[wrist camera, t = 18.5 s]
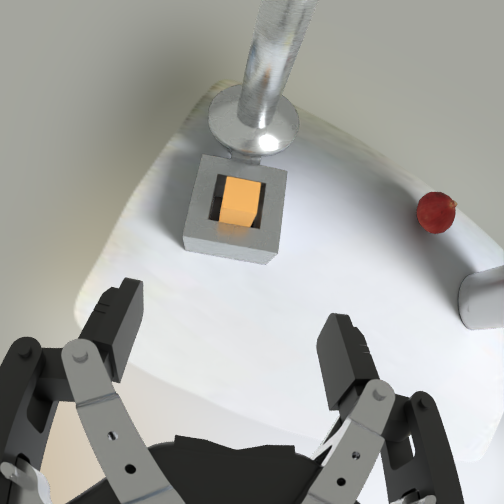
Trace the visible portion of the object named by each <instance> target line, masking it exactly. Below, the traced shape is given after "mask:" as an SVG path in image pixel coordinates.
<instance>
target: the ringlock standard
mask: <svg viewBox="0 0 504 504" xmlns="http://www.w3.org/2000/svg"><path fill="white" fill-rule="evenodd" d="M318 1H319V0H261V4H260V8H259V12H258V16H257V20H256V24H255V28H254V33H253V38H252V41H251V46H250V51H249V55H248V59H247V64H246V69H245V74H244V78H243V83H242V85H236V86H232V87H229V88H227V89H225V90H223V91H221V92H220V93H219V94H218V95H216V97H215V98H214V99H213V100H212V102H211V104H210V107H209V114H208V122H209V127H210V130H211V132H212V134H213V135H214V137H215V138H216V139H217V140H218V141H219V142H220V143H221V144H222V145H224V146H225V147H227V148H228V149H230V151H231V153H232V156H231V159H228V158H222V157H217V156H211V155H205V154H202V157H201V161H200V165H199V169H198V172H197V176H196V180H195V184H194V188H193V192H192V196H191V201H190V205H189V209H188V213H187V218H186V222H185V227H184V231H183V241H184V246H185V250H186V251H191V252H197V253H202V254H208V255H213V256H219V257H224V258H230V259H235V260H241V261H247V262H252V263H258V264H264V265H266V264H267V263H268V262H269V261H270V260H271V259H273V258H274V257H275V256H276V255H277V254H278V249H279V240H280V232H281V224H282V215H283V206H284V197H285V188H286V179H287V171H285V170H281V169H276V168H272V167H267V166H263V165H259V164H260V161H261V157H262V156H270V155H274V154H277V153H279V152H281V151H283V150H285V149H286V148H287V147H288V146H289V145H290V144H291V143H292V142H293V140H294V138H295V136H296V134H297V132H298V129H299V117H298V114H297V111H296V109H295V108H294V106H293V105H292V103H291V102H290V101H289V100H288V99H287V98H285V97H284V96H283V95H282V93H283V89H284V88H285V85H286V82H287V80H288V77H289V74H290V72H291V69H292V67H293V64H294V61H295V59H296V56H297V54H298V51H299V48H300V46H301V43H302V41H303V38H304V36H305V33H306V30H307V28H308V25H309V23H310V21H311V18H312V16H313V13H314V11H315V8H316V5H317V3H318ZM227 176H229V177H234V178H239V179H245V180H250V181H255V182H260V183H261V187H260V194H259V201H258V208H257V214H256V216H255V219H254V226H253V228H250V227H245V226H240V225H235V224H229V223H224V222H218V221H213V220H210V217H211V212H212V208H213V203H214V198H215V196H216V197H222V198H223V195H224V190H225V185H226V180H227Z"/></svg>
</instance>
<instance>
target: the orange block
mask: <svg viewBox="0 0 504 504" xmlns="http://www.w3.org/2000/svg"><path fill="white" fill-rule="evenodd" d="M260 187H261V183H260V182H255V181H250V180H245V179H239V178H234V177H229V176H227V180H226V185H225V190H224V195H223V200H222V206H221V211H220V217H219V222H224V223H229V224H235V225H240V226H245V227H250V226H251V224H252V222H253V220H254V218H255V216H256V214H257V208H258V201H259V194H260Z"/></svg>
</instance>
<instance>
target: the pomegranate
mask: <svg viewBox="0 0 504 504" xmlns="http://www.w3.org/2000/svg"><path fill="white" fill-rule="evenodd" d="M456 206H457V203H456V202H455V201H453V200H452V199H451V198H450V197H449V196H447V195H446V194H444V193H442V192H429V193H427V194H426V195H424V196H423V197H422V198H421V199H420V200H419V203H418V206H417V218H418V222H419V223H420V225H421V226H422V227H423V228H424V229H425V230H426V231H428V232H430V233H433V234H438V233H443V232H445V231H446V230H447V229H448V228H449V227H450V226H451V225H452V223H453V221H454V218H455V207H456Z"/></svg>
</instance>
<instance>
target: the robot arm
mask: <svg viewBox="0 0 504 504" xmlns="http://www.w3.org/2000/svg"><path fill="white" fill-rule="evenodd" d="M458 301H459V312H460V315H461V318H462V321H463V323H464V324H465V326H466V327H467V328H468V329H471V330H482V329H494V328H504V265H503V266H499V267H496V268H493V269H489V270H485V271H482V272H478V273H475V274H471V275H468V276H467V277H466V278H465V279H464V280H463V282H462V284H461V287H460V291H459V299H458ZM142 317H143V281H140V280H135V279H131V278H124V280H123V282H122V283H121V285H120V287H119V288H114V287H111V288H109V289H108V290H107V291H105V292H104V293H103V294H102V296H101V297H100V299H99V301H98V304H96V306H95V308H94V311H92V313H91V315H90V317H89V319H88V321H87V322H86V324H85V326H84V328H83V330H82V332H81V334H80V336H79V337H78V339H75V340H72V341H70V342H68V343H67V344H66V345H65V346H64V348H41V345H40V343H39V342H38V341H37V340H36V339H34V338H32V337H22V338H19V339H17V340H16V341H15V342H14V343H13V344H12V345H11V347H10V349H9V350H8V352H7V354H6V356H5V358H4V360H3V362H2V364H1V366H0V504H53V503H52V502H51V498H50V486H49V483H48V481H47V479H46V478H45V476H44V475H43V474H42V473H40V467H41V463H42V459H43V455H44V451H45V447H46V443H47V440H48V436H49V432H50V429H51V425H52V422H53V419H54V416H55V412H56V409H57V406H58V403H59V401H68V402H75V403H76V409H77V412H78V415H79V418H80V420H81V423H82V425H83V428H84V430H85V433H86V435H87V437H88V440H89V442H90V444H91V447H92V449H93V451H94V453H95V455H96V457H97V460H98V461H99V464H100V465H101V468H102V469H103V472H104V473H105V476H106V477H105V478H104V479H102V480H101V481H99V482H98V483H96V484H95V485H93V486H92V487H91V488H89V489H88V490H86V491H85V492H83V493H81V494H80V495H78V496H77V497H75V498H74V499H72V500H71V501H69V502H67V503H66V504H360V503H359V502H358V501H357V500H356V499H357V497H358V495H359V494H360V492H361V490H362V488H363V486H364V484H365V482H366V480H367V478H368V476H369V474H370V472H371V470H372V468H373V466H374V464H375V462H376V459H377V457H378V455H379V453H380V452H381V458H382V463H383V469H384V475H385V480H386V487H387V494H388V501H389V504H464V500H463V495H462V491H461V486H460V482H459V478H458V474H457V470H456V466H455V463H454V459H453V455H452V452H451V449H450V445H449V442H448V439H447V435H446V432H445V429H444V426H443V423H442V420H441V417H440V414H439V411H438V409H437V406H436V403H435V401H434V399H433V398H432V397H431V396H430V395H429V394H428V393H426V392H423V391H418V392H415V393H414V394H413V395H412V396H411V397H410V398H409V397H405V396H401V395H397V394H395V393H394V390H393V389H392V387H391V386H390V385H389V384H388V383H386V382H385V381H383V380H380V378H379V375H378V373H377V370H376V367H375V364H374V362H373V359H372V356H371V354H370V351H369V348H368V347H367V343H366V340H365V338H364V335H363V334H362V333H361V332H360V331H359V329H358V328H357V327H353V325H352V322H351V320H350V317H349V316H348V315H345V314H337V313H331V314H330V315H329V317H328V319H327V321H326V323H325V325H324V327H323V329H322V331H321V333H320V335H319V337H318V339H317V345H316V348H317V354H318V358H319V363H320V368H321V372H322V377H323V382H324V386H325V391H326V396H327V401H328V406H329V410H339V413H340V415H339V416H338V417H337V419H336V421H335V422H334V424H333V425H332V427H331V429H330V430H329V432H328V433H327V435H326V437H325V438H324V440H323V441H322V443H321V444H320V446H319V447H318V449H317V450H316V451H315V452H314V453H313V455H312V456H311V457H310V458H308V457H306V456H304V455H301V454H299V453H295V447H294V445H291V446H290V445H263V446H258V447H252V448H247V449H240V450H235V449H231V448H228V447H225V446H222V445H219V444H216V443H213V442H211V441H208V440H204V439H197V438H191V437H185V436H178V435H175V440H174V442H165V443H159V444H155V445H152V446H150V447H146V445H145V444H144V442H143V440H142V439H141V437H140V435H139V433H138V432H137V429H136V428H135V426H134V424H133V422H132V420H131V418H130V416H129V414H128V412H127V410H126V409H125V406H124V405H123V403H122V400H121V398H120V397H119V395H118V394H117V393H116V391H115V390H114V387H113V385H112V381H113V382H117V383H120V381H121V379H122V375H123V373H124V370H125V367H126V364H127V361H128V358H129V355H130V352H131V349H132V346H133V343H134V341H135V338H136V335H137V332H138V330H139V327H140V324H141V321H142ZM410 435H412V439H413V443H414V447H415V456H414V457H413V453H412V449H411V445H410V441H409V437H408V436H410Z"/></svg>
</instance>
